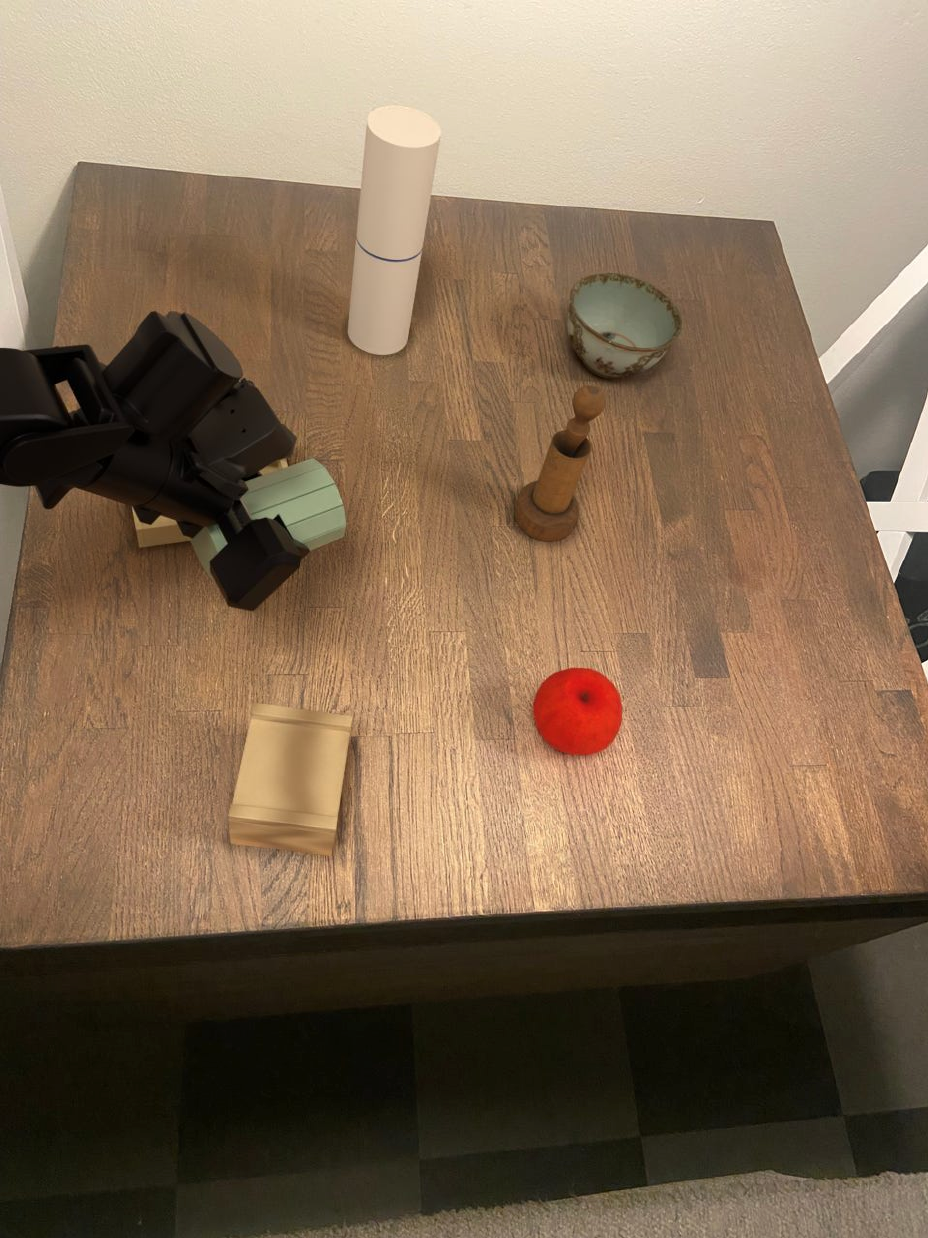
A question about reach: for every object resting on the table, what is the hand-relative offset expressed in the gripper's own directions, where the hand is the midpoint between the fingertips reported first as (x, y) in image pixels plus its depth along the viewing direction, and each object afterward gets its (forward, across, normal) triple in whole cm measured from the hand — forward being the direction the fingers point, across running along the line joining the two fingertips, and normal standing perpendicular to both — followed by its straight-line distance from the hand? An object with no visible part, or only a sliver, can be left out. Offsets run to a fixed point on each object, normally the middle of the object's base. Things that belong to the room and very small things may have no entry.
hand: (286, 520), depth 76 cm
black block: (+9, +16, +2) cm, 18 cm away
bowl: (+44, +17, -28) cm, 54 cm away
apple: (+20, -23, -4) cm, 31 cm away
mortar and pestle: (+29, -1, -12) cm, 31 cm away
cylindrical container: (+26, +30, -10) cm, 41 cm away
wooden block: (+3, -18, +13) cm, 23 cm away
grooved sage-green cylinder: (-2, 0, +1) cm, 2 cm away
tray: (+7, +15, +9) cm, 19 cm away
